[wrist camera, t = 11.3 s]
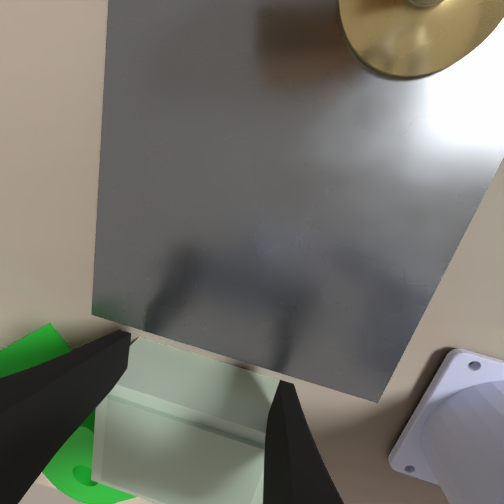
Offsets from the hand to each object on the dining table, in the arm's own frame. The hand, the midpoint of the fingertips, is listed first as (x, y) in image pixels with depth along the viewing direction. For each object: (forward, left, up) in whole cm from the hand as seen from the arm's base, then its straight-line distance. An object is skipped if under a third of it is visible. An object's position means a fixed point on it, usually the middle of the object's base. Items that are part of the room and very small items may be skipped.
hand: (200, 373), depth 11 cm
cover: (0, +5, -3) cm, 6 cm away
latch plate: (-1, -11, -2) cm, 11 cm away
